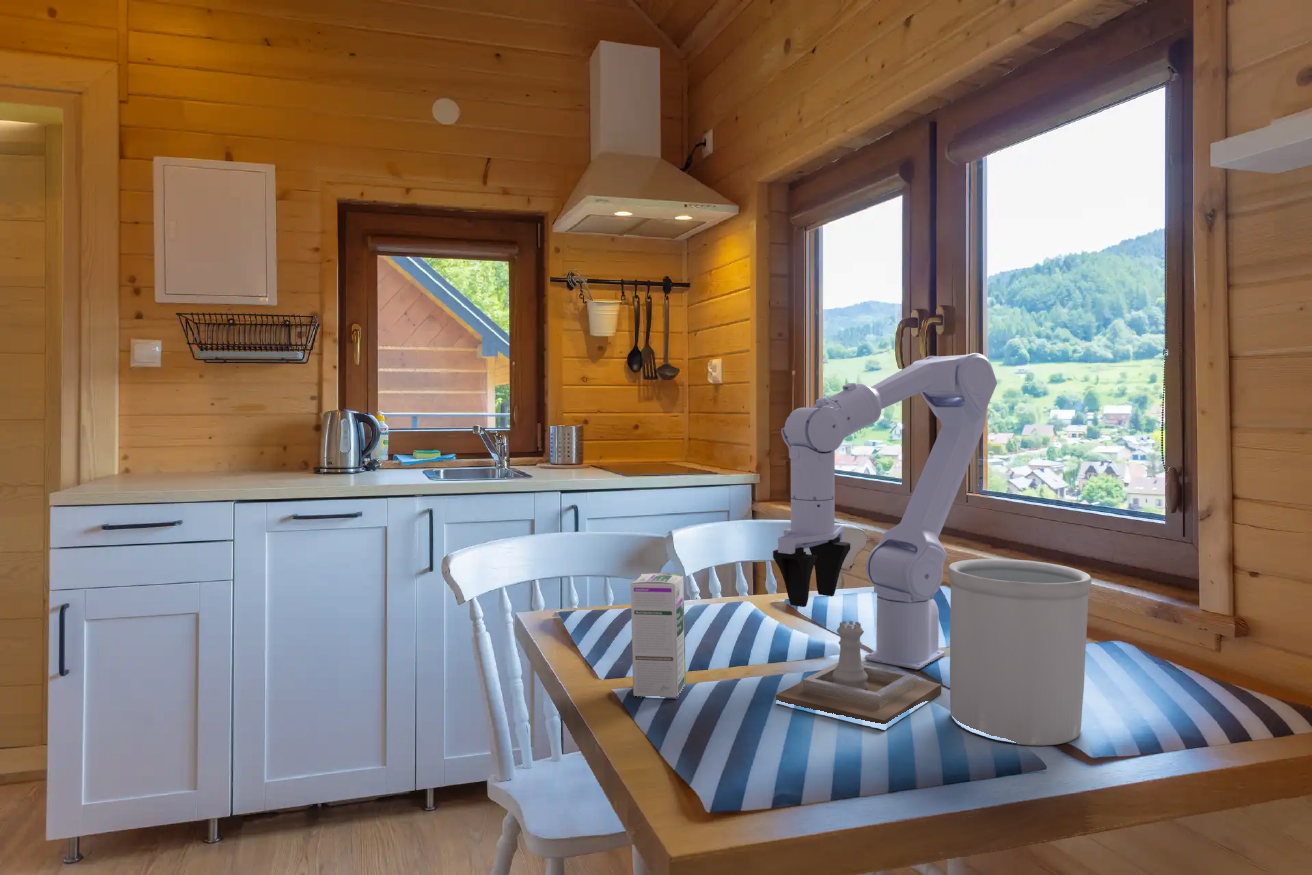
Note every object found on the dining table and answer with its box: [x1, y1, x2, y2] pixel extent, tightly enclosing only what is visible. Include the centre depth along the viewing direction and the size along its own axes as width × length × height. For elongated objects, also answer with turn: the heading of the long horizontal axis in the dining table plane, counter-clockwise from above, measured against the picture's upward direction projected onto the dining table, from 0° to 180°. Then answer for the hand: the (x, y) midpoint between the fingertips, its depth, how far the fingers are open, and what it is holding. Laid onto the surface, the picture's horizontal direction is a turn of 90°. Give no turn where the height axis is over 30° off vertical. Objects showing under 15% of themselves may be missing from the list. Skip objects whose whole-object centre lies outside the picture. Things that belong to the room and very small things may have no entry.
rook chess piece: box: [832, 620, 869, 690], centre depth 111 cm, size 4×4×8 cm
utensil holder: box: [947, 558, 1092, 746], centre depth 101 cm, size 15×15×18 cm
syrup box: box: [630, 572, 687, 698], centre depth 113 cm, size 6×6×14 cm
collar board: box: [775, 662, 942, 724], centre depth 110 cm, size 16×14×3 cm
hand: (812, 600), depth 120 cm, fingers open, 7 cm apart
